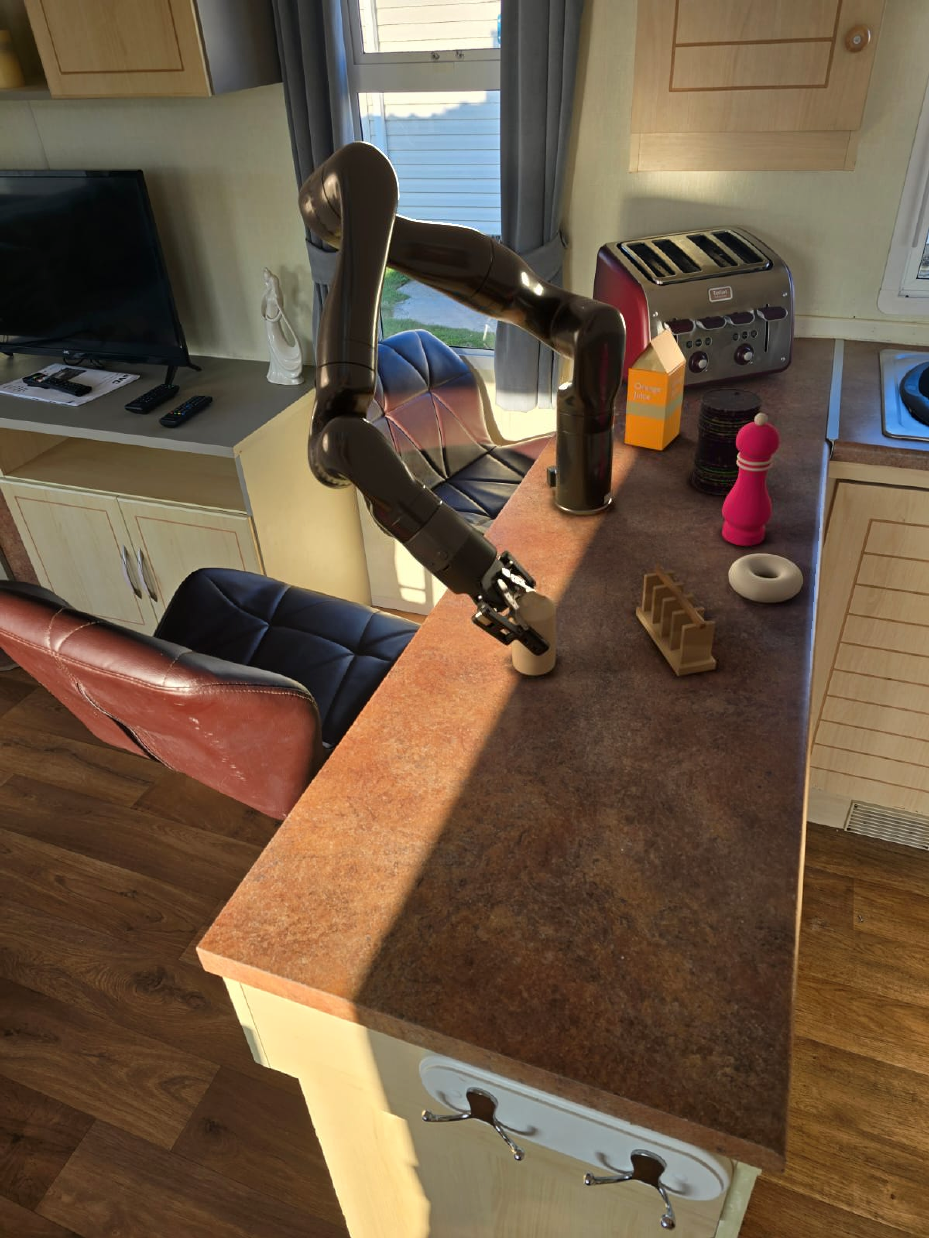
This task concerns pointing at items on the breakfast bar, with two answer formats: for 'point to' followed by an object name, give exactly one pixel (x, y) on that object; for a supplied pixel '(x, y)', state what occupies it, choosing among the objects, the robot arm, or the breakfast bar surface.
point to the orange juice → (655, 394)
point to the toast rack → (676, 623)
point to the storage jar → (721, 437)
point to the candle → (543, 621)
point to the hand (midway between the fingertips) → (547, 636)
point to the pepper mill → (751, 484)
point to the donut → (754, 587)
